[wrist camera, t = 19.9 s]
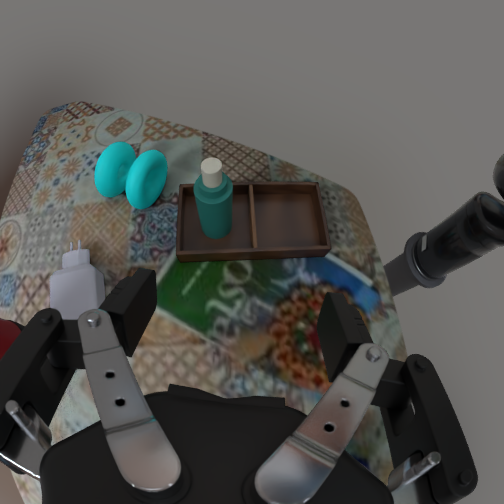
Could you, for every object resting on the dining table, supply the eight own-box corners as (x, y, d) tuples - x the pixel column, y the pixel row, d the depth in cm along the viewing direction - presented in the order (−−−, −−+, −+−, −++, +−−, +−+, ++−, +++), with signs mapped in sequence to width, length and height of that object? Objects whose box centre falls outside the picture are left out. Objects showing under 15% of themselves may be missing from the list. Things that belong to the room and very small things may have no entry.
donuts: (147, 221, 45) (130, 189, 35) (104, 204, 45) (82, 173, 36) (174, 176, 48) (164, 139, 39) (131, 163, 49) (117, 128, 40)
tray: (313, 193, 49) (318, 182, 46) (324, 256, 45) (331, 248, 41) (182, 195, 47) (179, 184, 44) (180, 262, 43) (175, 254, 39)
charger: (103, 241, 43) (110, 328, 38) (61, 251, 42) (65, 334, 37) (92, 229, 39) (97, 325, 34) (48, 241, 37) (50, 331, 32)
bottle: (231, 210, 46) (232, 148, 31) (232, 238, 44) (234, 182, 30) (201, 211, 45) (190, 150, 31) (201, 239, 44) (188, 184, 29)
